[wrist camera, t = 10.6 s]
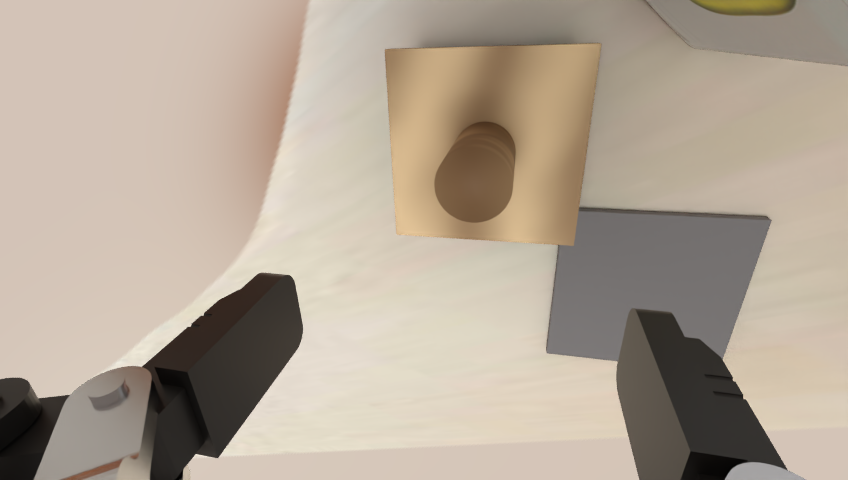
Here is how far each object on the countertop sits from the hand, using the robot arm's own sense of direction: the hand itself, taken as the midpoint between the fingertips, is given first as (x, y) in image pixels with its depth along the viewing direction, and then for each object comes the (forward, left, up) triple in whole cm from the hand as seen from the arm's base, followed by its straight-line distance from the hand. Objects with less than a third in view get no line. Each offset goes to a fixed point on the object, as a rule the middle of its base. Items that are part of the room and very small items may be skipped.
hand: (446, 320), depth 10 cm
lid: (0, 0, -17) cm, 17 cm away
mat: (-11, +12, -22) cm, 27 cm away
